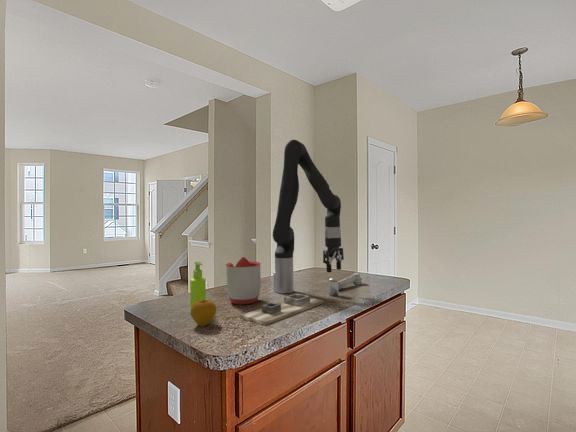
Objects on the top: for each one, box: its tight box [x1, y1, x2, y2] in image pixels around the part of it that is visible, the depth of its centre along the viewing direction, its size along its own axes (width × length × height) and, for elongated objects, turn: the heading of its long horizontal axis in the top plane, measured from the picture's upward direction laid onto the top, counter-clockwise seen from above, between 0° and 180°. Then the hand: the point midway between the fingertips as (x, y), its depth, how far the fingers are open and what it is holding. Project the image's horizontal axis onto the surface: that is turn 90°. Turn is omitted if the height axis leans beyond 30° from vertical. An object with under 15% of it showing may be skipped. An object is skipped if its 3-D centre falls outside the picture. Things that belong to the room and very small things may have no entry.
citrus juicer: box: [225, 256, 262, 306], centre depth 146 cm, size 16×17×20 cm
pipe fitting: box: [328, 277, 339, 298], centre depth 154 cm, size 4×4×8 cm
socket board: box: [240, 293, 324, 326], centre depth 131 cm, size 13×36×4 cm, turn 140°
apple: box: [190, 299, 217, 327], centre depth 114 cm, size 9×9×9 cm
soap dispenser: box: [189, 261, 207, 309], centre depth 130 cm, size 6×7×20 cm
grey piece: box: [338, 272, 363, 291], centre depth 172 cm, size 5×7×25 cm
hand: (334, 270), depth 154 cm, fingers open, 8 cm apart
